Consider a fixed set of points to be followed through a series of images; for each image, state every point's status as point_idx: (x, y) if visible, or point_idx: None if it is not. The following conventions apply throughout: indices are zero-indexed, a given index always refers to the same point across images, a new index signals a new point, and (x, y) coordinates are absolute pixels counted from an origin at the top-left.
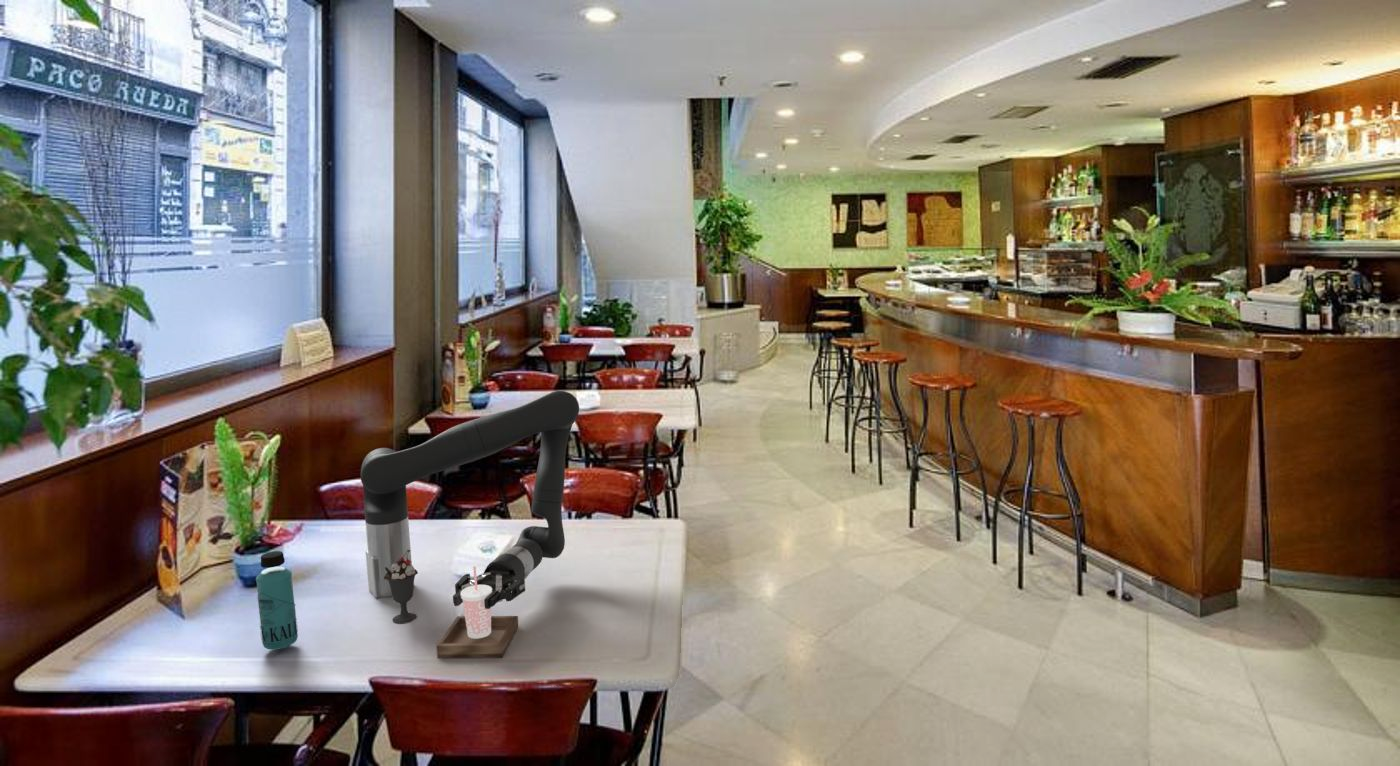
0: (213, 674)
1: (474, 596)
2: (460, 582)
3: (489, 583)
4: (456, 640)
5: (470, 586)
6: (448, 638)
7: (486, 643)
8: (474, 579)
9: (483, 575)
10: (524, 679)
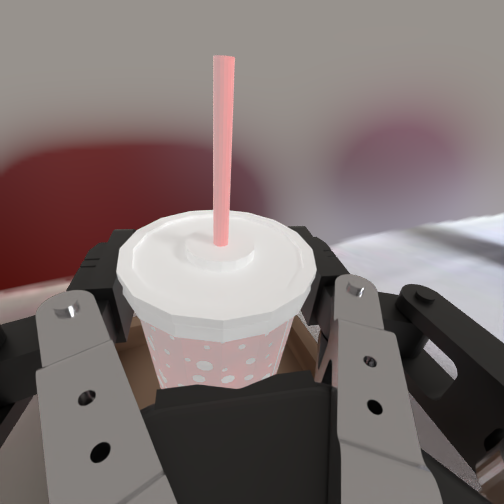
0: (498, 222)
1: (194, 221)
2: (449, 322)
3: (221, 400)
4: (284, 372)
5: (306, 279)
6: (294, 340)
7: (140, 324)
8: (225, 169)
9: (393, 460)
10: (8, 296)
